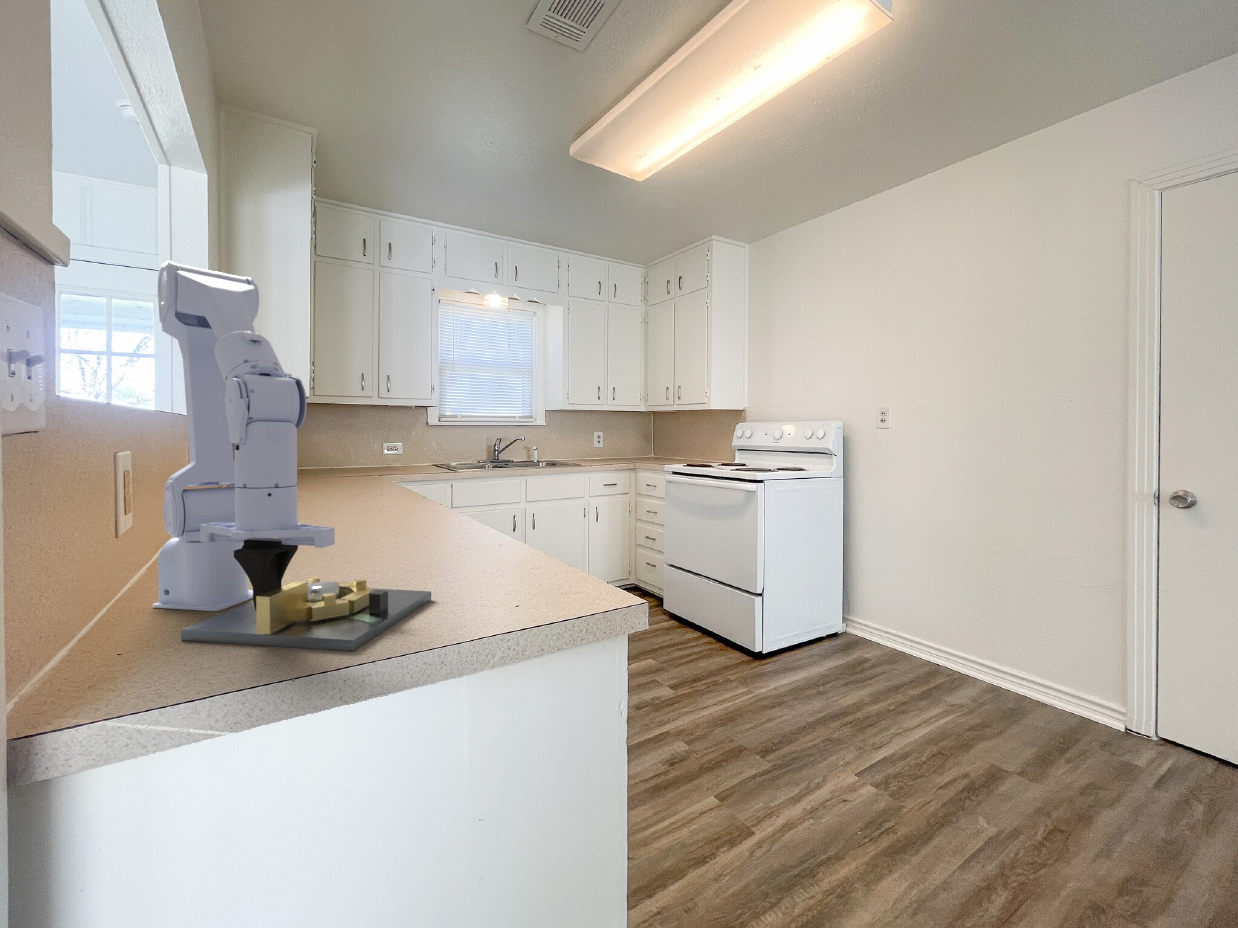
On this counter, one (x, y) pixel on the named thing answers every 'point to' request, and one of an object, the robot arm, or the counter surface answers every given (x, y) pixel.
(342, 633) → the dark gray base plate
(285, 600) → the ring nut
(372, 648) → the counter surface
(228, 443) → the robot arm
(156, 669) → the counter surface
